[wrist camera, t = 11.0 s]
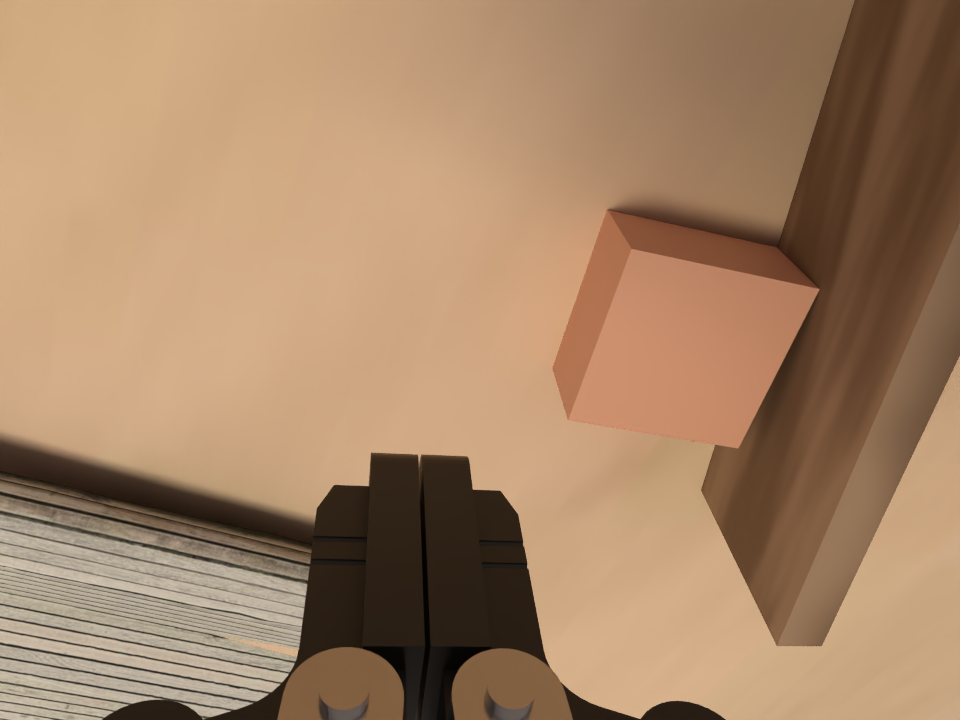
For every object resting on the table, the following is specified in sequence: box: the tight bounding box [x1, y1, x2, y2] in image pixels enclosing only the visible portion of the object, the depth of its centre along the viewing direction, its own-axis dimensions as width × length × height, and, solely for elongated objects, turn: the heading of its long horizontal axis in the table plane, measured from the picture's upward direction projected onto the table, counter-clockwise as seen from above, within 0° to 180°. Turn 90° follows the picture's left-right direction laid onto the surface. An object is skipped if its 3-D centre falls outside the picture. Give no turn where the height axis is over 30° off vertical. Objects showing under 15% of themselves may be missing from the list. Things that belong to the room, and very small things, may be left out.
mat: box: [0, 471, 312, 720], centre depth 43 cm, size 23×24×5 cm
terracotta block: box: [553, 210, 820, 448], centre depth 34 cm, size 8×8×4 cm
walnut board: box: [701, 0, 960, 646], centre depth 30 cm, size 2×28×10 cm, turn 174°
